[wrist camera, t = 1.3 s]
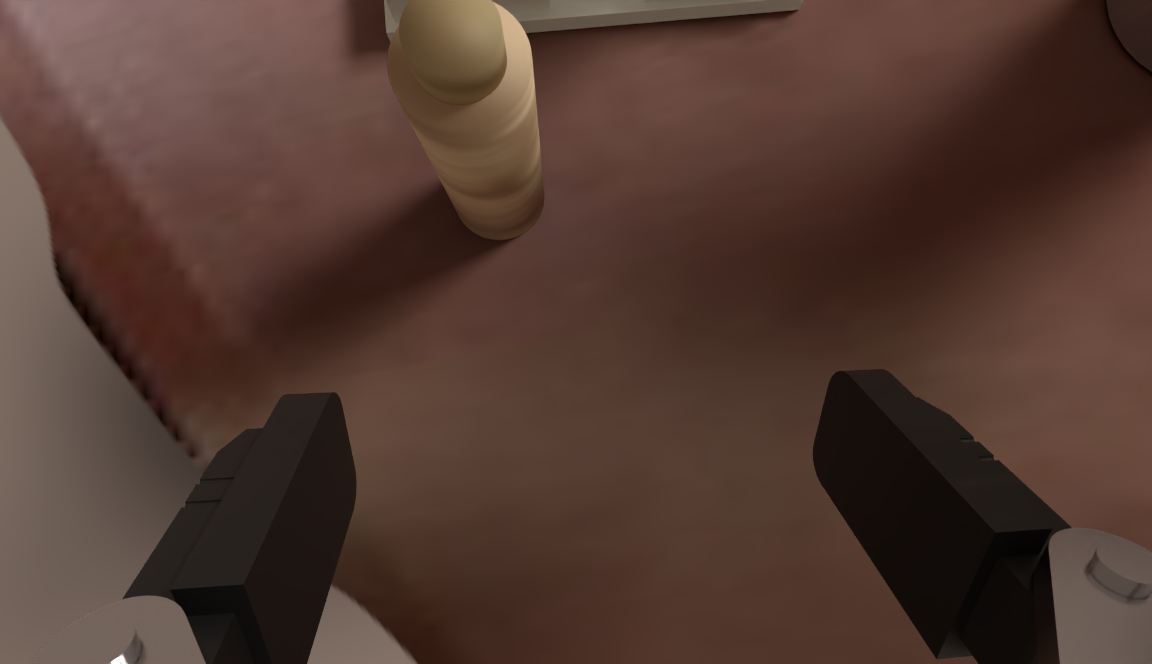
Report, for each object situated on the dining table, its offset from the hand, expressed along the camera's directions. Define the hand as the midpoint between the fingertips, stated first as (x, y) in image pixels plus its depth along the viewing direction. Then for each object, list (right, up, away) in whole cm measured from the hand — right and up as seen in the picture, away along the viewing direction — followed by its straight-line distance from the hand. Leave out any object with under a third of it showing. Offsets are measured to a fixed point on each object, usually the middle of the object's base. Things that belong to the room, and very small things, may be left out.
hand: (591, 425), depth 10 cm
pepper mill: (-4, +9, +21) cm, 23 cm away
